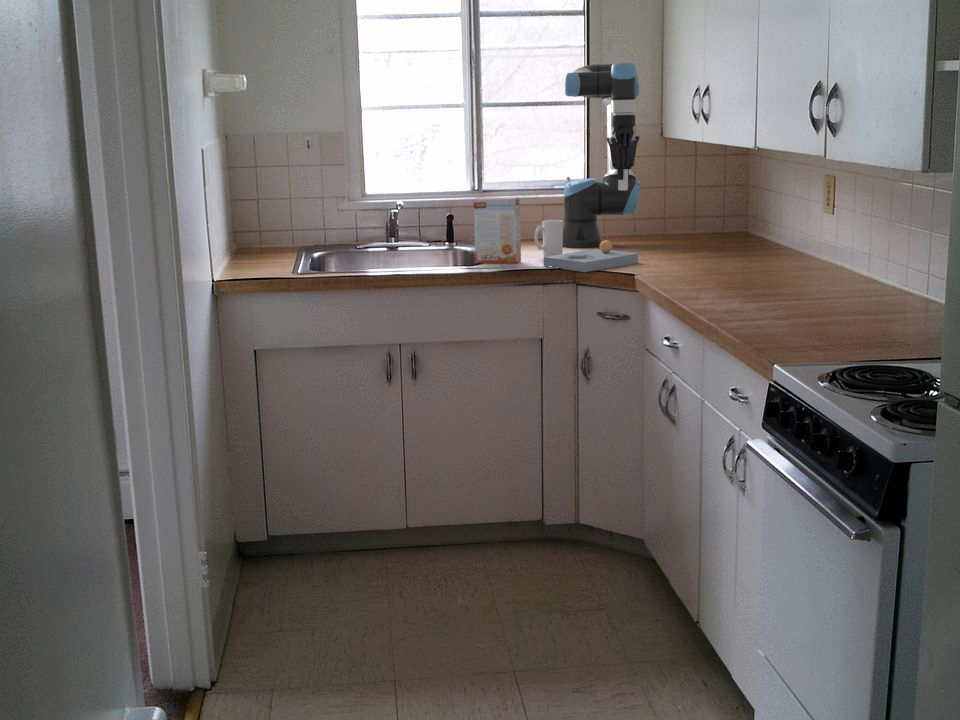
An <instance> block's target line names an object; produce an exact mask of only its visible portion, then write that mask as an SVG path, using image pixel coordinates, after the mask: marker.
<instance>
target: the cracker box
mask: <svg viewBox="0 0 960 720" xmlns="http://www.w3.org/2000/svg"><path fill="white" fill-rule="evenodd" d="M520 206H521V205H520V197H501V196H500V197H495V196H494V197H478V198H474V199H473V218H474V219H473V223H474V224H473V225H474V227H473V228H474V251H475V252H474V254H475V256H474V257H475V264H507V265H509V264H512V265H513V264H514V265H515V264H518V263H520V262H521V261H522V253H521V251H522V247H521V245H522V243H521V209H520Z"/></svg>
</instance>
